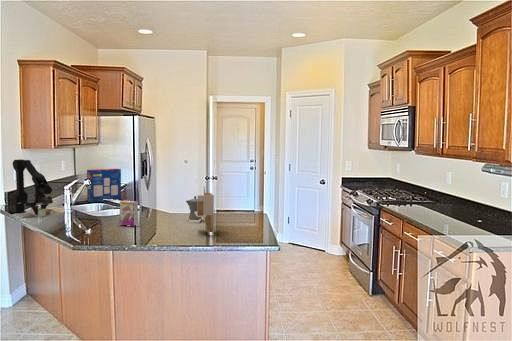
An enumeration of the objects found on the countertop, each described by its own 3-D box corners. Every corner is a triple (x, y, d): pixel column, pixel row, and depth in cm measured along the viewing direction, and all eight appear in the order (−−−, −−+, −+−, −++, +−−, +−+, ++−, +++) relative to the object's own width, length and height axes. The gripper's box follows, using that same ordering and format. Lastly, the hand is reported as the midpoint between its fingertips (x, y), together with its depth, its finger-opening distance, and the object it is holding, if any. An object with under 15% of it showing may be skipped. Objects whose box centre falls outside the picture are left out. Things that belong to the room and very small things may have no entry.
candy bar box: (119, 225, 280) (119, 201, 279) (124, 224, 285) (123, 200, 284) (133, 227, 277) (133, 202, 275) (138, 226, 282) (138, 201, 280)
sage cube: (34, 216, 306) (34, 209, 306) (40, 215, 311) (40, 208, 310) (39, 216, 304) (39, 209, 304) (45, 215, 309) (45, 208, 308)
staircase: (197, 236, 257) (198, 189, 254) (194, 230, 273) (194, 186, 270) (214, 236, 260) (214, 189, 257) (209, 230, 275) (210, 185, 273)
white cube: (31, 214, 314) (31, 207, 314) (36, 213, 319) (36, 206, 318) (36, 214, 312) (36, 207, 312) (41, 213, 317) (41, 207, 316)
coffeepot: (186, 223, 294) (186, 197, 292) (184, 220, 303) (184, 195, 301) (208, 222, 298) (208, 196, 297) (206, 219, 307) (206, 195, 306)
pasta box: (116, 198, 398) (116, 168, 396) (121, 199, 393) (120, 169, 390) (87, 201, 379) (87, 169, 376) (91, 202, 373) (91, 170, 371)
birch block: (44, 214, 316) (44, 208, 316) (56, 212, 326) (55, 206, 325) (54, 215, 313) (54, 210, 312) (65, 213, 322) (65, 207, 321)
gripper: (36, 195, 294) (37, 217, 296) (58, 192, 312) (58, 213, 313) (24, 194, 298) (25, 216, 300) (46, 191, 316) (47, 212, 317)
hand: (39, 214), depth 307 cm, fingers closed on sage cube, 5 cm apart
